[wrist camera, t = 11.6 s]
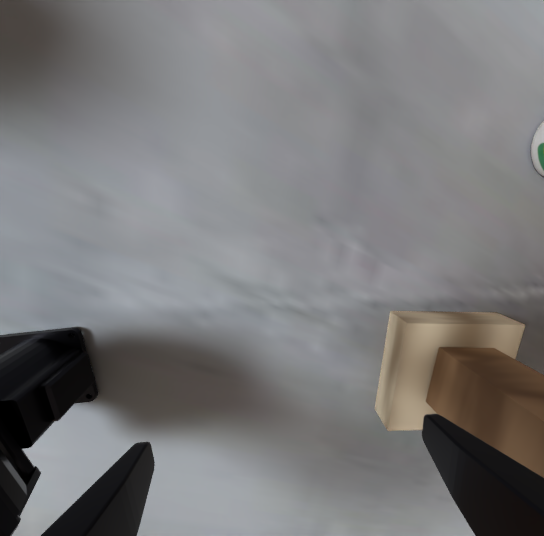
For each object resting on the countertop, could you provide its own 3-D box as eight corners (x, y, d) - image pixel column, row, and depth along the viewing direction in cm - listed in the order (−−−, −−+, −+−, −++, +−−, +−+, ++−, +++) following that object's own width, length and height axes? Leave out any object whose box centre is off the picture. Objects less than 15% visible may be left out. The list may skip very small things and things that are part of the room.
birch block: (371, 404, 25) (387, 430, 22) (387, 308, 23) (406, 323, 20) (467, 403, 26) (495, 428, 23) (491, 310, 24) (525, 324, 21)
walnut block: (425, 401, 21) (643, 631, 10) (438, 347, 20) (702, 533, 9) (478, 400, 22) (742, 615, 10) (494, 348, 21) (808, 522, 9)
